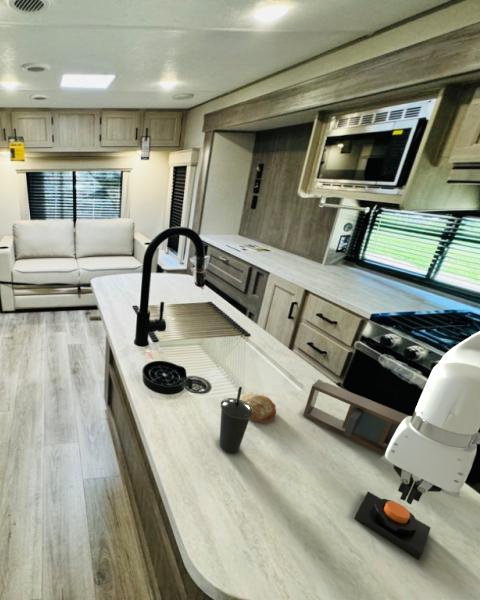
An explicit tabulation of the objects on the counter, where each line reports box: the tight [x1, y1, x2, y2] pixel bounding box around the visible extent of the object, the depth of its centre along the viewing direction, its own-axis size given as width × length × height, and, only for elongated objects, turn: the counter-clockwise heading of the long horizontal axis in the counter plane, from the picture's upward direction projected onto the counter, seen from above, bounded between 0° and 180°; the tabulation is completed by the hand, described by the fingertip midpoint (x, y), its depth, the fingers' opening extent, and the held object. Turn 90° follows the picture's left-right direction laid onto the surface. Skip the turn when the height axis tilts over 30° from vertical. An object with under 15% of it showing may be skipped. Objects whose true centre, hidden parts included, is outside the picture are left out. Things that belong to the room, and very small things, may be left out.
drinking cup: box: [219, 386, 253, 455], centre depth 83 cm, size 8×8×20 cm
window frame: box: [302, 378, 409, 456], centre depth 88 cm, size 21×5×12 cm, turn 36°
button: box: [384, 500, 411, 524], centre depth 65 cm, size 4×4×2 cm
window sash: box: [342, 404, 393, 446], centre depth 84 cm, size 9×7×8 cm
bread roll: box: [240, 392, 277, 424], centre depth 98 cm, size 10×10×8 cm
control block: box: [353, 491, 432, 561], centre depth 65 cm, size 10×8×4 cm
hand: (406, 497), depth 63 cm, fingers closed
